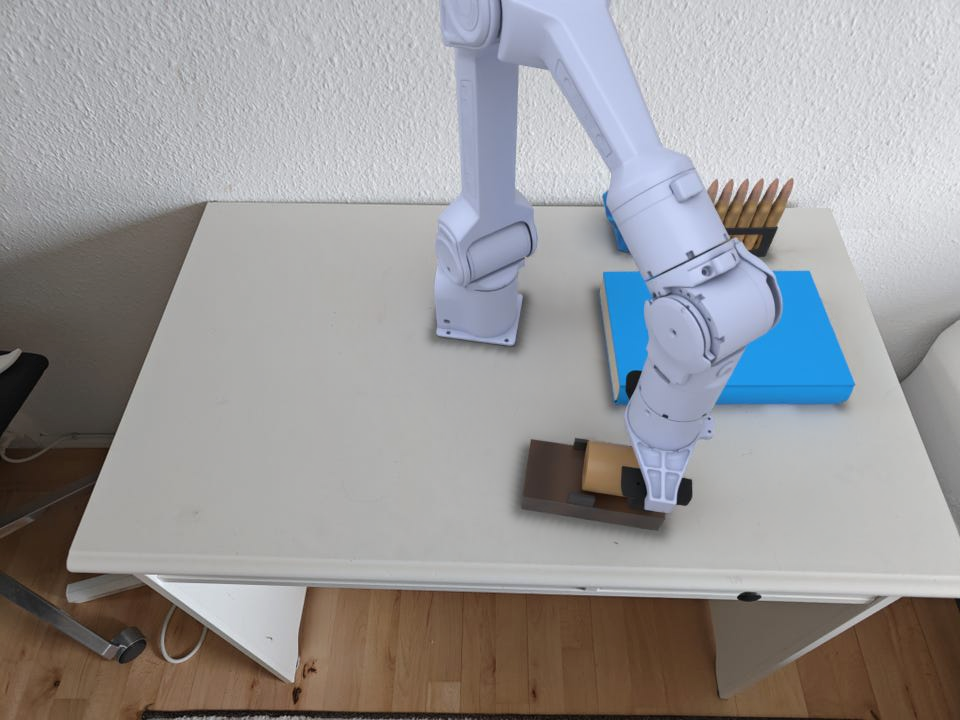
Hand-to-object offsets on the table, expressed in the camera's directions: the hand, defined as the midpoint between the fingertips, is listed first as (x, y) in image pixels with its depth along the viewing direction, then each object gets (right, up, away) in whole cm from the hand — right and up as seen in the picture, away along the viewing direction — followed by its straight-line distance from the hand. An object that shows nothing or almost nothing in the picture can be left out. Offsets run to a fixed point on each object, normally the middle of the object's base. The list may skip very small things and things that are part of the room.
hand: (641, 468), depth 59 cm
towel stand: (-4, -3, +6) cm, 8 cm away
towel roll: (-1, -2, +3) cm, 4 cm away
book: (+12, +12, +16) cm, 23 cm away
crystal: (+4, +26, +27) cm, 38 cm away
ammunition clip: (+17, +24, +25) cm, 39 cm away
